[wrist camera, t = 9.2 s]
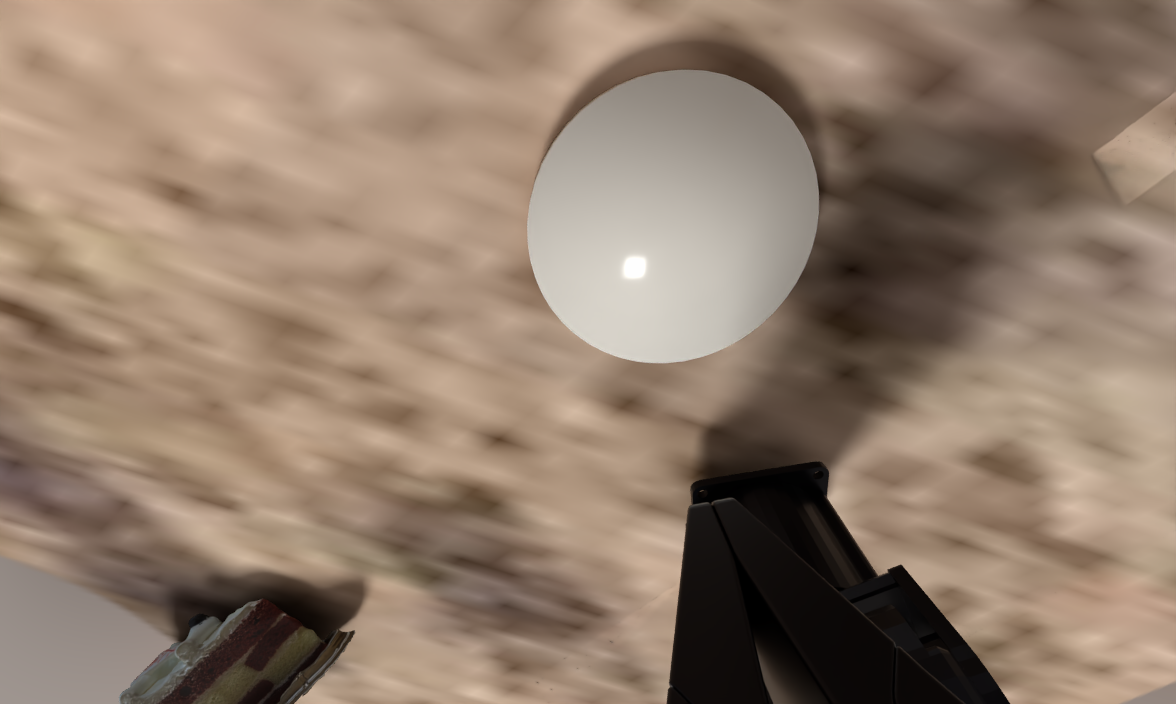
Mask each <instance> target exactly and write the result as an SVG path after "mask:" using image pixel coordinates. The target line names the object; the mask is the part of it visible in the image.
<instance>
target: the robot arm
mask: <svg viewBox="0 0 1176 704" xmlns="http://www.w3.org/2000/svg"><path fill="white" fill-rule="evenodd" d="M815 472H817V473H815ZM828 478H829V471H828V469H827V468H826V466H825V465H824V464H823V463H822V462H809V463H803V464H797V465H791V466H784V467H778V468H772V469H766V470H760V471H753V472H747V473H741V474H735V475H729V476H722V477H716V478H710V479H704V480H699V481H696V482H694V483H693V484H692V486H691V489H690V491H691V504H692V505H691V506H689V508H688V514H687V523H686V532H685V542H684V551H683V560H682V569H681V578H680V588H679V597H678V606H677V615H676V625H675V634H674V643H673V652H672V662H671V671H670V680H669V685H670V688H669V689H668V696H667V704H1010V703H1009V701H1008V700H1007V698H1006V697H1005V695H1004V694H1003V692H1002V691H1001V689H1000V688H999V686H998V685H997V683H996V682H995V680H994V679H993V678H992V676H991V675H990V673H989V672H988V670H987V669H986V668H985V666H984V665H983V664H982V662H981V661H980V659H979V658H978V657H977V655H976V654H975V653H974V652H973V650H972V649H971V648H970V647H969V645H968V644H967V643H966V642H965V640H964V639H963V638H962V637H961V636H960V634H959V633H958V632H957V631H956V630H955V628H954V627H953V626H952V625H951V624H950V622H949V621H948V620H947V619H946V618H945V616H944V615H943V614H942V613H941V612H940V610H939V609H938V608H937V607H936V606H935V604H934V603H933V602H932V601H931V600H930V598H929V597H928V596H927V595H926V594H925V592H924V591H923V590H922V589H921V588H920V586H919V585H918V584H917V583H916V582H915V580H914V579H913V578H912V577H911V576H910V574H909V573H908V572H907V571H906V570H905V568H904V567H903V566H902V565H898V566H896V567H893V568H891V569H888V573H885V574H882V575H880V576H878V575H877V573H876V572H875V570H874V569H873V567H872V566H871V564H870V563H869V561H868V560H867V558H866V557H865V555H864V554H863V552H862V551H861V549H860V547H859V546H858V544H857V543H856V541H855V540H854V538H853V537H852V535H851V534H850V532H849V531H848V529H847V528H846V526H845V525H844V523H843V522H842V520H841V519H840V517H839V515H838V514H837V512H836V511H835V509H834V508H833V506H832V505H831V503H830V502H829V500H828V499H827V488H828ZM701 490H704V491H702V492H699V491H701Z"/></svg>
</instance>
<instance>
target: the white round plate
mask: <svg viewBox="0 0 1176 704" xmlns="http://www.w3.org/2000/svg"><path fill="white" fill-rule="evenodd" d="M818 215H819V189H818V182H817V174H816V170H815V167H814V163H813V160H812V156H811V153H810V151H809V149H808V147H807V144H806V142H805V140H804V138H803V136H802V134H801V133H800V131H799V130H798V128H797V127H796V125H795V124H794V122H793V120H792V119H791V118H790V117H789V116H788V115H787V114H786V113H785V111H784V110H783V109H782V108H781V107H780V106H779V105H778V104H777V103H776V102H774V101H773V100H772V99H771V98H769V97H768V96H767V95H766V94H765V93H763V92H762V91H760V90H758V89H756V88H755V87H753V86H751V85H749V84H748V83H746V82H743V81H741V80H738V79H736V78H733V77H730V76H728V75H724V74H719V73H714V72H710V71H703V70H672V71H662V72H655V73H651V74H647V75H643V76H639V77H635V78H633V79H630V80H628V81H625V82H623V83H621V84H618V85H616V86H614V87H612V88H611V89H609V90H607V91H606V92H604V93H602V94H600V95H599V96H597V97H596V98H595V99H593V100H592V101H591V102H589V103H588V104H587V105H586V106H584V107H583V108H582V109H581V110H580V111H579V112H578V113H577V114H576V115H575V116H574V117H573V118H572V119H571V120H570V121H569V122H568V123H567V124H566V125H565V126H564V128H563V129H562V130H561V132H560V133H559V134H558V136H557V137H556V138H555V140H554V141H553V143H552V145H551V146H550V148H549V150H548V152H547V154H546V155H545V157H544V159H543V161H542V164H541V166H540V169H539V171H538V174H537V176H536V179H535V183H534V187H533V191H532V195H531V199H530V205H529V214H528V222H527V230H528V248H529V255H530V261H531V265H532V268H533V271H534V275H535V278H536V281H537V283H538V285H539V287H540V290H541V292H542V294H543V296H544V298H545V299H546V301H547V302H548V304H549V306H550V307H551V309H552V310H553V311H554V313H555V314H556V315H557V316H558V318H559V319H560V320H561V321H562V322H563V323H564V324H565V325H566V326H567V327H568V328H569V329H570V330H571V331H572V332H573V333H574V334H576V335H577V336H578V337H580V338H581V339H583V340H584V341H585V342H587V343H588V344H590V345H592V346H594V347H596V348H598V349H599V350H601V351H603V352H606V353H609V354H611V355H614V356H616V357H620V358H624V359H628V360H632V361H638V362H646V363H672V362H681V361H687V360H691V359H696V358H700V357H703V356H706V355H709V354H712V353H715V352H717V351H719V350H721V349H724V348H726V347H728V346H730V345H732V344H734V343H735V342H737V341H739V340H740V339H742V338H744V337H745V336H747V335H748V334H750V333H751V332H752V331H753V330H755V329H756V328H757V327H759V326H760V325H761V324H762V323H763V322H764V321H765V320H767V319H768V318H769V317H770V316H771V315H772V314H773V313H774V312H775V311H776V310H777V308H778V307H779V306H780V305H781V304H782V302H783V301H784V300H785V299H786V298H787V296H788V295H789V293H790V292H791V290H792V289H793V287H794V286H795V284H796V283H797V281H798V279H799V277H800V275H801V273H802V271H803V270H804V268H805V265H806V263H807V260H808V258H809V255H810V252H811V250H812V246H813V243H814V239H815V235H816V231H817V223H818Z"/></svg>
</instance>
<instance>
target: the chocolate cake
mask: <svg viewBox="0 0 1176 704" xmlns="http://www.w3.org/2000/svg"><path fill="white" fill-rule="evenodd" d="M189 626H190V628H191V629H190V632H189V635H188V637H187V638H186V640H185V641H183V642H182V643H181V642H178V643H174V644H172V645H171V647H170V648H169V649H168V650H166V651H163V652H162V653H161V654H160V655H159V656H158V657H157V658H156V659H155V660H154V661H153V662H152V663H151V664H150V665H149V666H148V667H147V668H146V669H145V670H144V671H143V672H142V673H141V674H140V675H139V676H138V677H137V678H136V679H135V680H134V681H133V682H132V683H131V687H130V688H128V689H126V690H125V691H123V692H122V693H121V695H120V697H119V701H120V704H294V703H295V702H296V701H297V700H298V699H299V698H300V696H301V695H302V694H303V696H304V695H305V694H307V693H308V691H309V690H310V689H311V688H312V686H313V685H314V684H315V683H316V682H317V681H318V680H319V679H320V678H322V677H323V676H324V675H325V672H326V671H327V670H328V669H329V668H330V667H331V666H332V665H333V664H334V663H335V661H336V660H337V659H338V658H339V656H340V655H341V653H342V652H344V651H345V649H346V647H347V645H348V643H349V642H350V641H351V639H352V637H353V635H354V634H355V630H353V631H351V632H341V631H340V630H338V629H337V630H335V631H332V632H331V633H330V635H329V636H328V637H327V638H326V639H324V640H322V641H321V639H320V638H319V637H318V636H317V635H316V633H315V632H314V631H313V630H311V629H307V628H305V627H303V626H302V623H301V622H300V621H299V620H297V619H295V618H293V617H290V616H289V615H288V614H286V613H285V612H283V611H281V610H280V609H279V608H278V607H277V606H276V605H274V604H272V603H271V602H270V601H268V600H266V599H260V600H258V601H253V602H248V603H247V604H246V605H245V606H243V607H242V608H239V609H237V610H236V611H235V612H234V613H232V614H230V615H229V616H228V617H227V619H226V620H225V622H221V621H220V620H219V619H218V618H217V617H209V616H207V615H204V614H198V615H196V616H195V617H193V618H191V619H190V621H189Z"/></svg>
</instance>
